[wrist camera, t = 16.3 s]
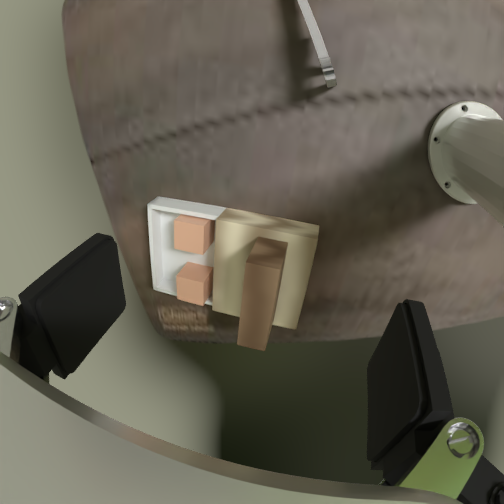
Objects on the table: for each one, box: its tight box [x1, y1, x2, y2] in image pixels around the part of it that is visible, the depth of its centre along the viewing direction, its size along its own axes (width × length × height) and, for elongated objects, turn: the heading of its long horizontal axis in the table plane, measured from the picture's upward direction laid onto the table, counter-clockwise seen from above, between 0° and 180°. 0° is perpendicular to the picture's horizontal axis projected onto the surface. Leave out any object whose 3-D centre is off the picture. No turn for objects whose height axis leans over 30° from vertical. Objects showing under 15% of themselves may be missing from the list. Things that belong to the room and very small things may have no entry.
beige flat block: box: [212, 208, 319, 330], centre depth 40 cm, size 12×14×4 cm
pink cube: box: [174, 214, 215, 255], centre depth 39 cm, size 4×4×4 cm
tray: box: [147, 196, 226, 305], centre depth 42 cm, size 10×14×3 cm
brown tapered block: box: [237, 237, 288, 351], centre depth 36 cm, size 4×12×6 cm, turn 174°
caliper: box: [297, 0, 337, 88], centre depth 23 cm, size 20×1×6 cm, turn 17°
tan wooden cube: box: [176, 262, 214, 306], centre depth 43 cm, size 4×4×4 cm
